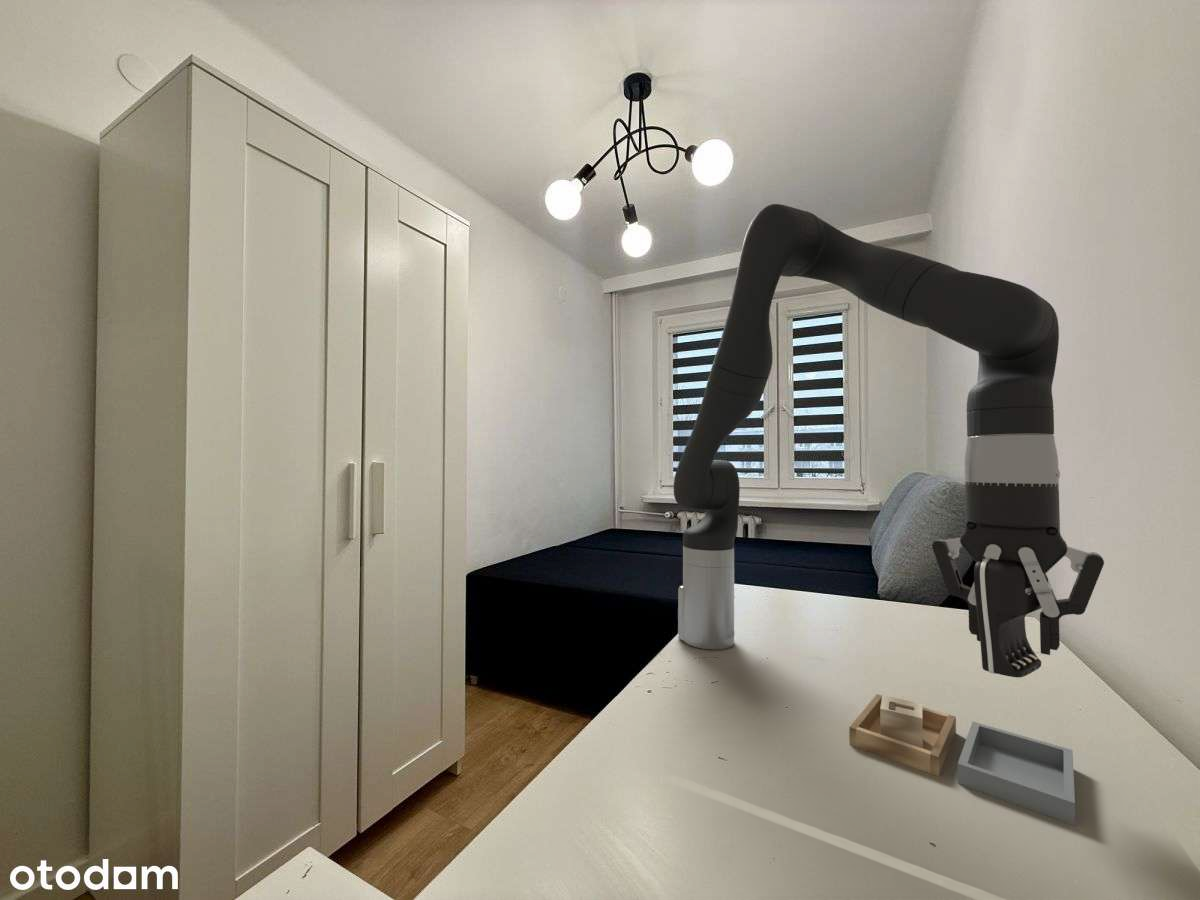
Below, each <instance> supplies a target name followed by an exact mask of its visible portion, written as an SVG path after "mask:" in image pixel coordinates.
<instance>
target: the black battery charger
mask: <svg viewBox="0 0 1200 900" xmlns="http://www.w3.org/2000/svg"><path fill="white" fill-rule="evenodd" d="M1037 581H1038V579H1037ZM973 583H974V585H975V598H976V608H977V617H978V626H979V635H980V641H979V643H980V644H979V645H980V653H981V654H980V655H981V667H982V670H984V671H986V672H988V673H990V674H994V675H1002V676H1006V677H1012V678H1023V677H1026V676H1028V675H1030V674H1032V673H1033V672H1035V671H1037V670H1039V669H1040V668H1041V667H1042V660H1041V659H1040V658H1038V656H1037V655H1036V653H1035V651H1034V650H1033V648H1032V647H1031V645H1030V643H1029V640H1028V638H1027V631H1026V616H1027V615H1029V614H1030V613H1034V612H1035V611H1038V610H1040V609H1041V610H1042V608H1041V605H1040V603H1039V600H1038V598H1037V595H1036V594H1035V592H1034V590H1033V587H1032V585H1031V582H1030V580H1029V577H1028V575H1027V573H1026V570H1025V568H1024V565H1022V564H1021V563H1020V562H1017V561H1013V560H1000V559H998V561H992V560H990V559H984V560H982V559H980V560H978V561H977V563H976V562H975V564H974V567H973Z"/></svg>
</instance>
